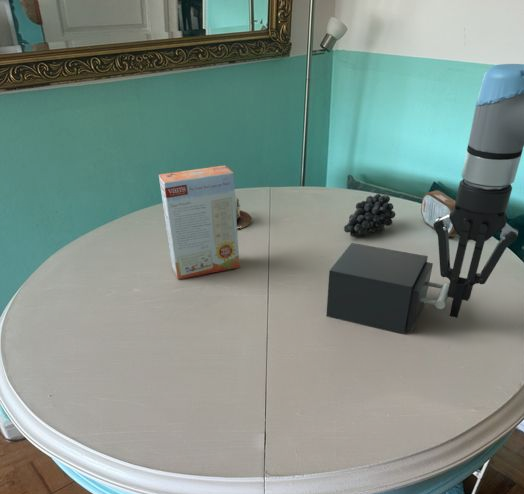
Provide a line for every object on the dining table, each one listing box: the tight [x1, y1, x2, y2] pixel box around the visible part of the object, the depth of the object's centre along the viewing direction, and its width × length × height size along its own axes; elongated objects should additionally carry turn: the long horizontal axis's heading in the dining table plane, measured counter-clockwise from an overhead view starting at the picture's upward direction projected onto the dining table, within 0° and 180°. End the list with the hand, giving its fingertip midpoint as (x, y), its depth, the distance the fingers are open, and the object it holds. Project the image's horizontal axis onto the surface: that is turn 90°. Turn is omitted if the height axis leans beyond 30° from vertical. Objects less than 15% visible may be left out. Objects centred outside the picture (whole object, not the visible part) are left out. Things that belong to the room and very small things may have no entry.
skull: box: [235, 195, 253, 229], centre depth 133 cm, size 12×10×10 cm
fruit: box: [343, 193, 396, 238], centre depth 125 cm, size 9×8×15 cm
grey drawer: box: [406, 261, 450, 331], centre depth 95 cm, size 18×11×8 cm, turn 64°
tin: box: [420, 189, 458, 237], centre depth 125 cm, size 15×3×8 cm, turn 16°
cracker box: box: [158, 164, 240, 280], centre depth 107 cm, size 14×6×21 cm, turn 110°
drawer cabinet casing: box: [326, 242, 429, 335], centre depth 96 cm, size 15×13×10 cm
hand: (454, 313), depth 92 cm, fingers closed
